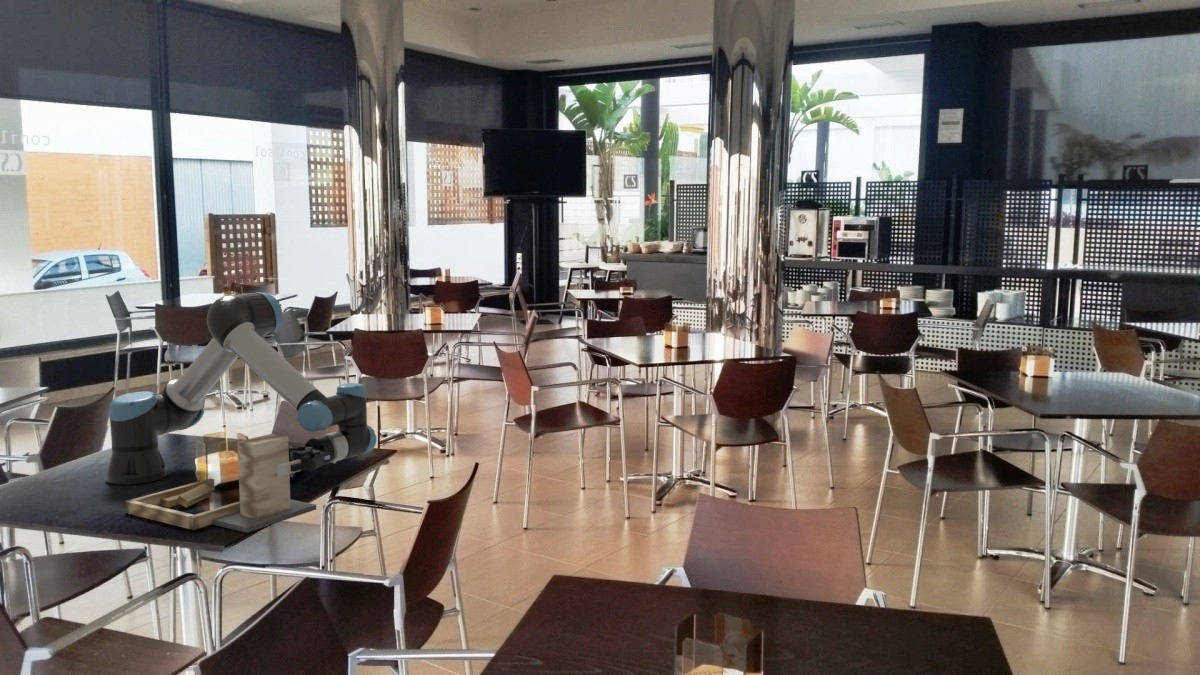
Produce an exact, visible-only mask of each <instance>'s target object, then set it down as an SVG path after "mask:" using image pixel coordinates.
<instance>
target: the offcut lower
mask: <svg viewBox="0 0 1200 675" xmlns="http://www.w3.org/2000/svg"><path fill="white" fill-rule="evenodd" d="M183 493H185V492H183ZM183 493H179V494H176V495H172V496H169V497H165V498H161V499H160V506H159V507H163V508H168V509H171V508H174V507H176V506H180V505H181V504H179V503H178V502H177V500H178V497H179V495H181V494H183Z"/></svg>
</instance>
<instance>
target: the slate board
mask: <svg viewBox="0 0 1200 675" xmlns="http://www.w3.org/2000/svg"><path fill="white" fill-rule="evenodd" d="M290 503H291V509H288V510H284V511H281V512H278V513H275V514H272V515H269V516H266V517H263V518H260V519H254V518H250V517H246V516H241V515H240V511H238V512H235V513H232V514H229V515H225V516H222V517H219V518H216V519H213V524H212V525H213V526H216V527H217V526H218V527H221V528H227V529H228V530H229V529H230V530H235V531H238V532H242V533H247V534H248V533H251V532H255V531H257V530H260V529H262V528H266V527H268V526H272V525H275V524H278V523H280V522H284V521H286V520H289V519H293V518H295V517H299V516H302V515H304V514H307V513H310V512H313V511H316V510H317V504H315V503H310V502H305V501H300V500H296V499H292V498H290Z"/></svg>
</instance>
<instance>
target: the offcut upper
mask: <svg viewBox="0 0 1200 675" xmlns="http://www.w3.org/2000/svg"><path fill="white" fill-rule="evenodd" d="M213 491H214V490H213V489H212V488H210V487H208V486H207V485H205V484H202V485H200V486H198V487H196V488H194V489H191V490H189V491H187V492H185V493H183V494H181V495H179V497H178V500H177V502H178V503H179V504H180V505H181V506H182V507H184V508H185V509H187V508H189V507H191V506H193V505H195V504H197V503H199V502H201V501H203V500H205V499H206V498H209V497H211V495H212V494H213Z"/></svg>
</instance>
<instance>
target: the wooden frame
mask: <svg viewBox="0 0 1200 675" xmlns="http://www.w3.org/2000/svg"><path fill="white" fill-rule="evenodd" d="M202 484H205V485H207V486H208V487H210V488H212V489H213V491H215V490H216V489H215V486H216V485H215V479H214V478H207V479H204V480H200V481H196V482H191V483H188V484H184V485H180V486H177V487H174V488H170V489H165V490H163V491H158V492H155V493H151V494H147V495H143V496H139V497H136V498H132V499H128V500H124V508H125V514H127V513H128V515H131V514H132V515H133V516H136V517H139V518H143V519H144V518H145V519H147V520H152V521H154V522H155V521H156V522H161V523H163V524H167V525H171V526H177V527H179V528H180V527H181V528H184V529H187V530H192V531H195V530H199V529H202V528H205V527H207V526H211V525H213V519H216V518H219V517H222V516H225V515H229V514H232V513H235V512H238V511H240V500H239V501H235V502H233V503H230V504H229V503H228V504H226V505H223V506H220V507H219V506H218V507H216V508H213V509H209V510H207V511H206V510H205V511H202V512H200V513H195V514H193V513H188V512H183V511H179V510H175V509H171V508H168V507H164V506H160V499H161V498H165V497H169V496H172V495H176V494H179V493H183V492H187V491H189V490H191V489H194V488H196V487H198V486H200V485H202Z"/></svg>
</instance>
